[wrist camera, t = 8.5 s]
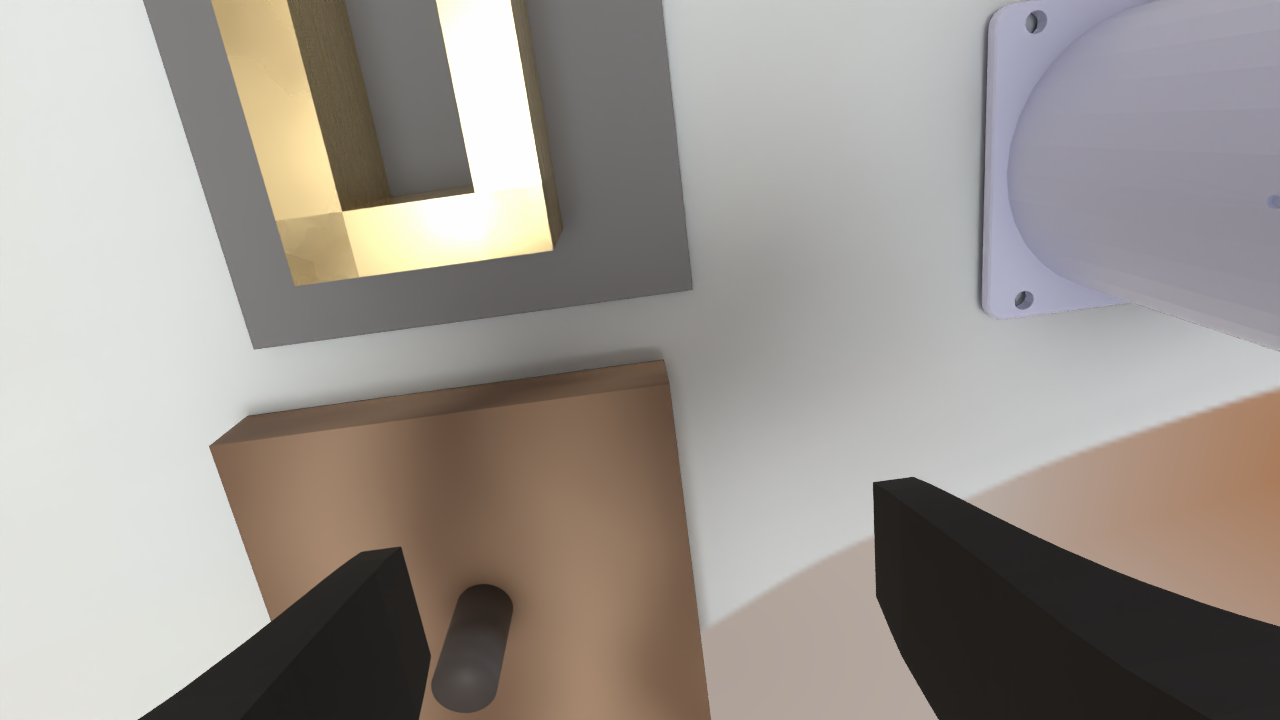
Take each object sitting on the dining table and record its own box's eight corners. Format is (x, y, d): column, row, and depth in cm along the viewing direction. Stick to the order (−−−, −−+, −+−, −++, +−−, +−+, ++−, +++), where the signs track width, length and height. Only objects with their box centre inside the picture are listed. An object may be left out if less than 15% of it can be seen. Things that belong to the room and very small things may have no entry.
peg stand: (663, 359, 20) (680, 431, 15) (705, 693, 24) (729, 833, 19) (247, 416, 20) (135, 504, 15) (354, 740, 24) (290, 892, 19)
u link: (563, 228, 18) (553, 250, 15) (351, 257, 18) (294, 286, 15) (504, -126, 16) (477, -193, 13) (259, -91, 16) (167, -150, 13)
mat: (634, -238, 16) (634, -247, 15) (691, 286, 19) (692, 289, 19) (101, -165, 16) (88, -172, 15) (260, 345, 19) (254, 349, 19)
